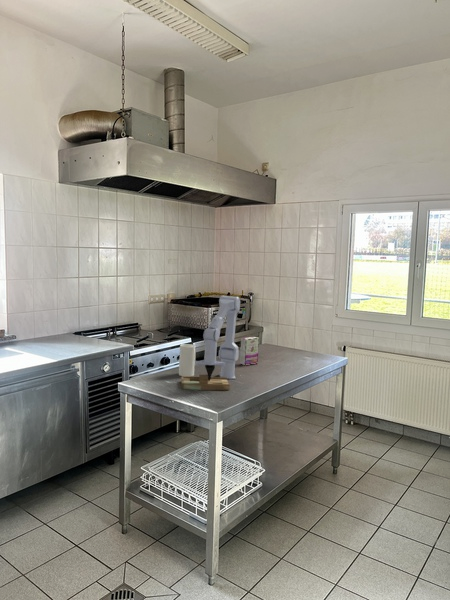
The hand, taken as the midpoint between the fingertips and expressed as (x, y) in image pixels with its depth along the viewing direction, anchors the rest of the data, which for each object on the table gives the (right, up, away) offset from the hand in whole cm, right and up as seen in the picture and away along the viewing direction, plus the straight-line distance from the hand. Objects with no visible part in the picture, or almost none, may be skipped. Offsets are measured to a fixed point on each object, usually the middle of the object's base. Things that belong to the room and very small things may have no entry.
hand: (209, 380), depth 216 cm
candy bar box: (+22, 0, +55) cm, 59 cm away
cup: (-13, -1, +22) cm, 26 cm away
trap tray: (-2, -3, +3) cm, 5 cm away
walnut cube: (-3, -1, 0) cm, 3 cm away
